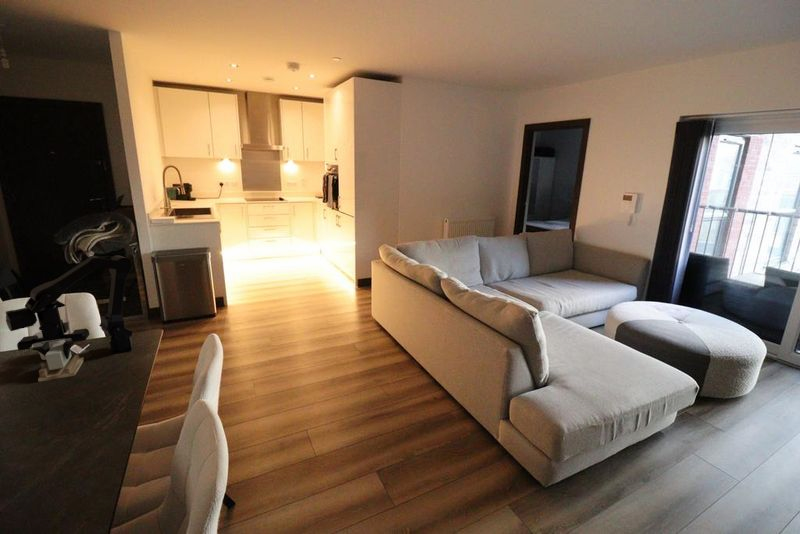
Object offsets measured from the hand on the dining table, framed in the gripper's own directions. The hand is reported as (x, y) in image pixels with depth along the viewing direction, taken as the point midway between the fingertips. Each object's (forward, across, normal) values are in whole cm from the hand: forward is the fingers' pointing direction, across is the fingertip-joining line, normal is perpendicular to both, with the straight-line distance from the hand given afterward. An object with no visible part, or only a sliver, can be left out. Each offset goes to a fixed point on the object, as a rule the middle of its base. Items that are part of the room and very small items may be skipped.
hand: (60, 359), depth 137 cm
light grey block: (+1, 0, 0) cm, 1 cm away
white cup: (+5, +7, -15) cm, 17 cm away
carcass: (+4, 0, 0) cm, 4 cm away
